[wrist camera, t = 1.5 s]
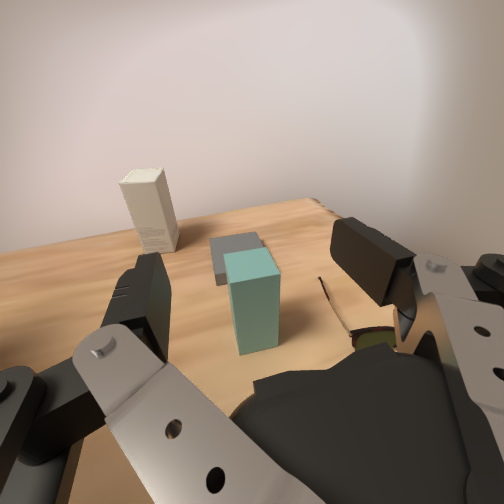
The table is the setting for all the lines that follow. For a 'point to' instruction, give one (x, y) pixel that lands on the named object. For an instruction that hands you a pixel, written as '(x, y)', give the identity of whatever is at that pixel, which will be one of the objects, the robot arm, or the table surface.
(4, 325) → the table surface
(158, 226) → the skincare box
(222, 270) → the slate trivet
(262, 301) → the teal block
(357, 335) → the sunglasses
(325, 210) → the table surface
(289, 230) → the table surface
